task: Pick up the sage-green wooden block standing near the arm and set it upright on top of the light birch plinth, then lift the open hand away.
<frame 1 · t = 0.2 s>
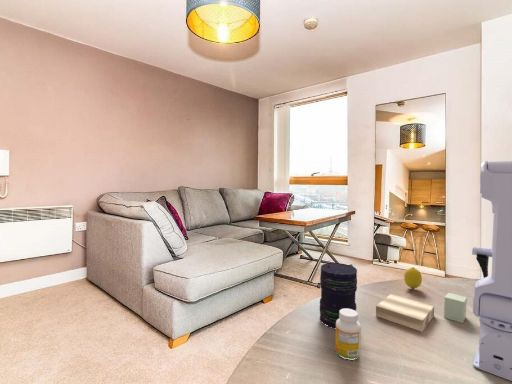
hand: (503, 284, 81), 10 cm above the table, tool pointing down, fingers open, 7 cm apart
storage jar: (337, 321, 79), on the table
lemon: (412, 289, 102), on the table
sage block: (454, 317, 82), on the table
supplement bottle: (347, 354, 64), on the table
birch plinth: (404, 315, 82), on the table
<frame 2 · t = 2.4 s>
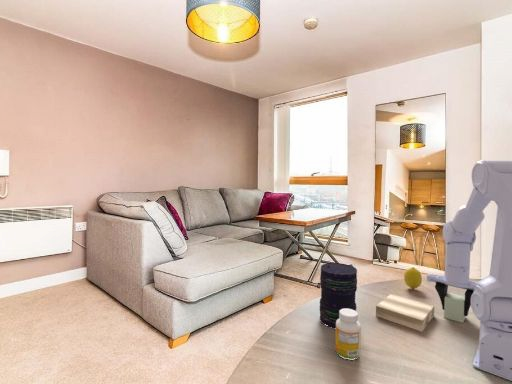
hand: (455, 311, 82), 2 cm above the table, tool pointing down, fingers closed on sage block, 4 cm apart
sage block: (454, 317, 82), on the table, touching gripper
everything else where it was.
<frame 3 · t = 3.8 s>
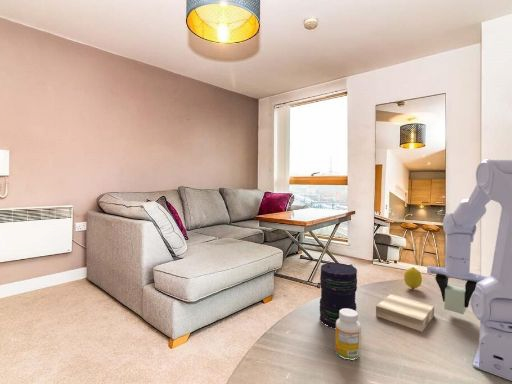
hand: (455, 303, 82), 4 cm above the table, tool pointing down, fingers closed on sage block, 4 cm apart
sage block: (455, 309, 82), point 2 cm above the table, touching gripper
everything else where it was.
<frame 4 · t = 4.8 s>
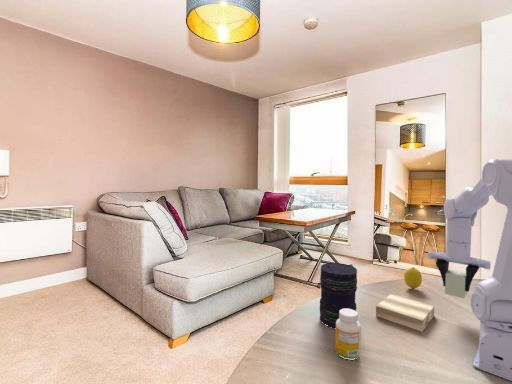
hand: (456, 288, 81), 9 cm above the table, tool pointing down, fingers closed on sage block, 4 cm apart
sage block: (455, 293, 81), point 7 cm above the table, touching gripper
everything else where it was.
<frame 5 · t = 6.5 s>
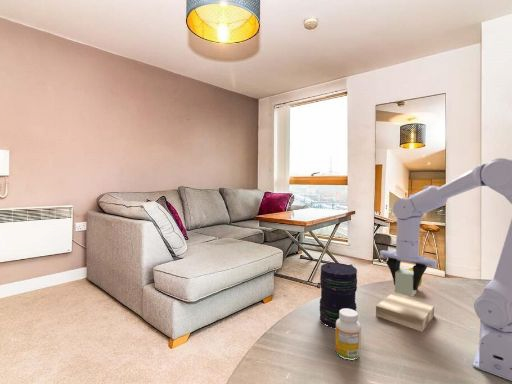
hand: (405, 286, 82), 9 cm above the table, tool pointing down, fingers closed on sage block, 4 cm apart
sage block: (405, 292, 82), point 7 cm above the table, touching gripper
everything else where it was.
when the fingers open (6 cm above the table, at t = 7.5 s): sage block stays where it is, resting on birch plinth.
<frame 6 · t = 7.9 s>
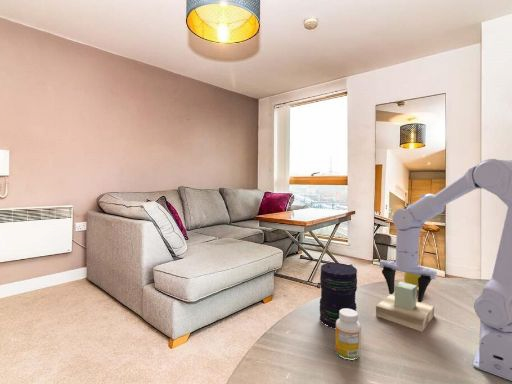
hand: (405, 297, 82), 6 cm above the table, tool pointing down, fingers open, 7 cm apart
sage block: (405, 305, 82), point 3 cm above the table, touching birch plinth
everything else where it was.
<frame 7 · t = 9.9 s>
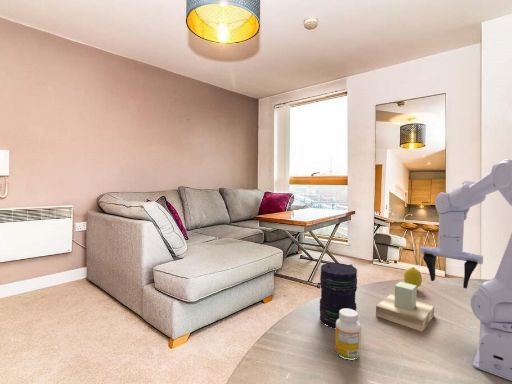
hand: (448, 283, 80), 10 cm above the table, tool pointing down, fingers open, 7 cm apart
nothing on the table moved.
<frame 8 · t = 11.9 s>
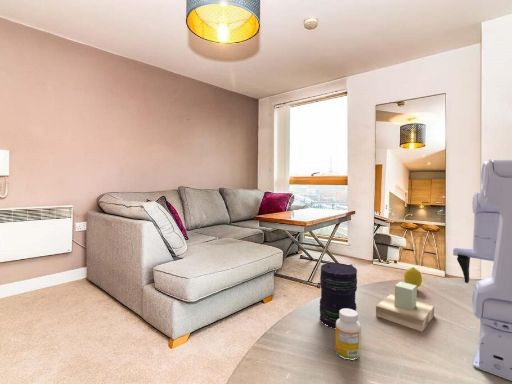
hand: (484, 285, 78), 10 cm above the table, tool pointing down, fingers open, 7 cm apart
nothing on the table moved.
at the end: sage block inside the target area on the birch plinth (0.0 cm from its centre), point 3.0 cm above the birch plinth's base; sage block tilted 0°; the gripper is holding nothing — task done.
